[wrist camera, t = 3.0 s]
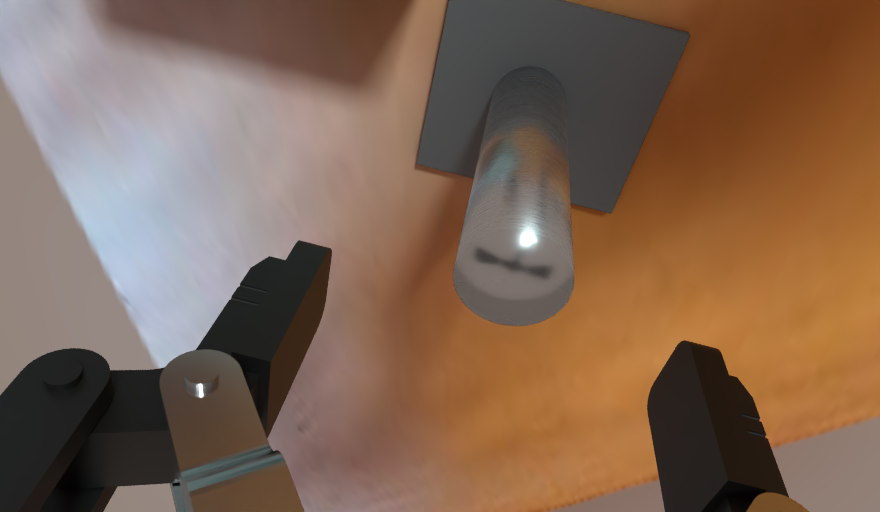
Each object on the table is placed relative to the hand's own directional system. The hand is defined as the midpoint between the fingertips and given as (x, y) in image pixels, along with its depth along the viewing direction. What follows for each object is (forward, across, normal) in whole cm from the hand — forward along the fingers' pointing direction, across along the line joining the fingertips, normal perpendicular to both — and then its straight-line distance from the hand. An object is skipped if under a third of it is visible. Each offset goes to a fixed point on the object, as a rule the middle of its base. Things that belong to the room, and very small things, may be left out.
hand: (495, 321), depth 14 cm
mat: (+14, -1, 0) cm, 14 cm away
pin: (+14, 0, 0) cm, 14 cm away
